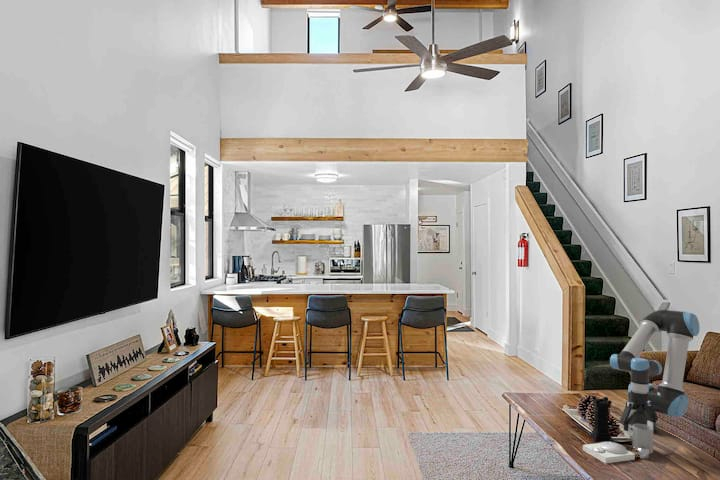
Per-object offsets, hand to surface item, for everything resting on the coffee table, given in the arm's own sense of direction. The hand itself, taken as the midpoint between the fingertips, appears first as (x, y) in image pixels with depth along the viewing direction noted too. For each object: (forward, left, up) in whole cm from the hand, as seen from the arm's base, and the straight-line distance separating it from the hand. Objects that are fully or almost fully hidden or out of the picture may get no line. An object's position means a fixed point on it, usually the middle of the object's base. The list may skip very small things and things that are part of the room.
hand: (638, 436), depth 226 cm
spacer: (+6, +8, -6) cm, 11 cm away
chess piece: (+9, -14, -6) cm, 18 cm away
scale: (+20, +2, -6) cm, 21 cm away
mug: (0, 0, -6) cm, 6 cm away
